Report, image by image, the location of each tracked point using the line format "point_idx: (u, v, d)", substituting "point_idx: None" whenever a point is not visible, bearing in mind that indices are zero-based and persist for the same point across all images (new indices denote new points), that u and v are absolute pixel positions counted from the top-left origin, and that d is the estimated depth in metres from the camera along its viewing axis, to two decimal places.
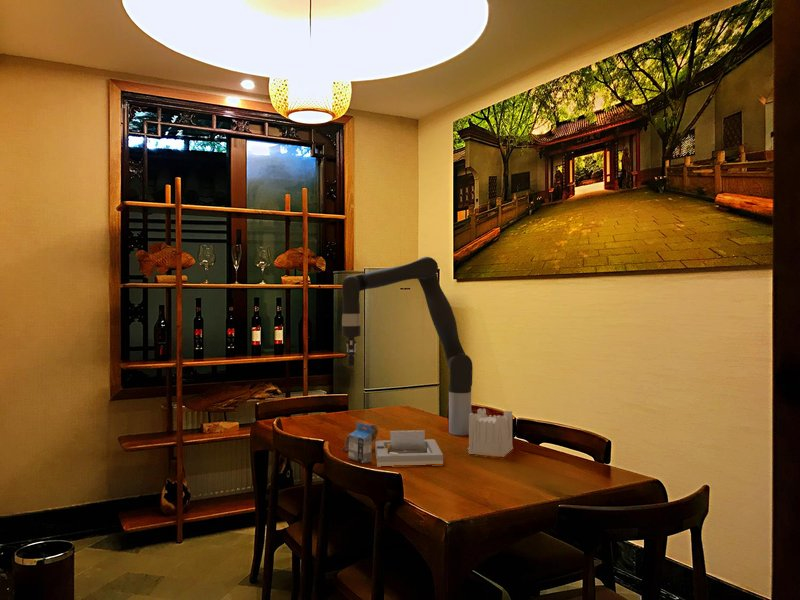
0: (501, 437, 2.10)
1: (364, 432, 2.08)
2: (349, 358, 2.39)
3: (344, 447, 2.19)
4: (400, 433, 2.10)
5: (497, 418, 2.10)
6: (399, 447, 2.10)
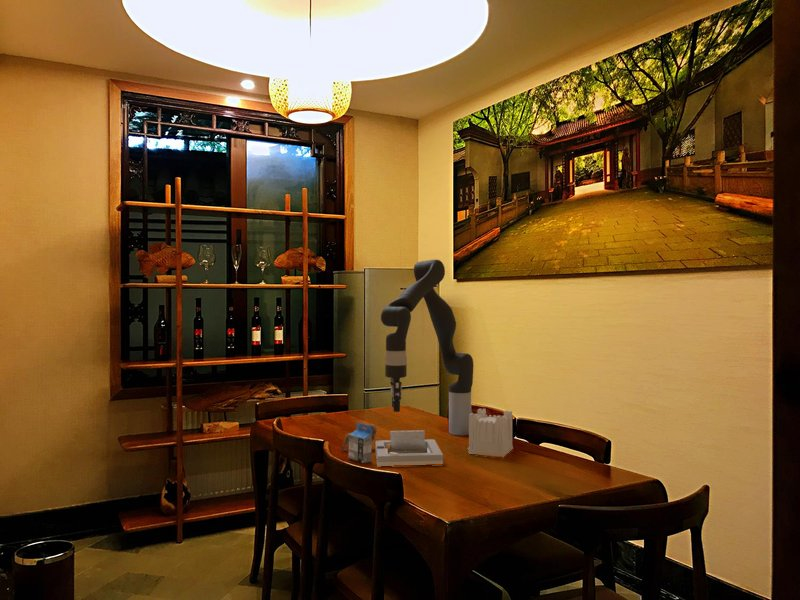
0: (501, 437, 2.10)
1: (364, 432, 2.08)
2: (394, 403, 2.06)
3: (343, 447, 2.19)
4: (400, 433, 2.10)
5: (497, 418, 2.10)
6: (399, 447, 2.10)
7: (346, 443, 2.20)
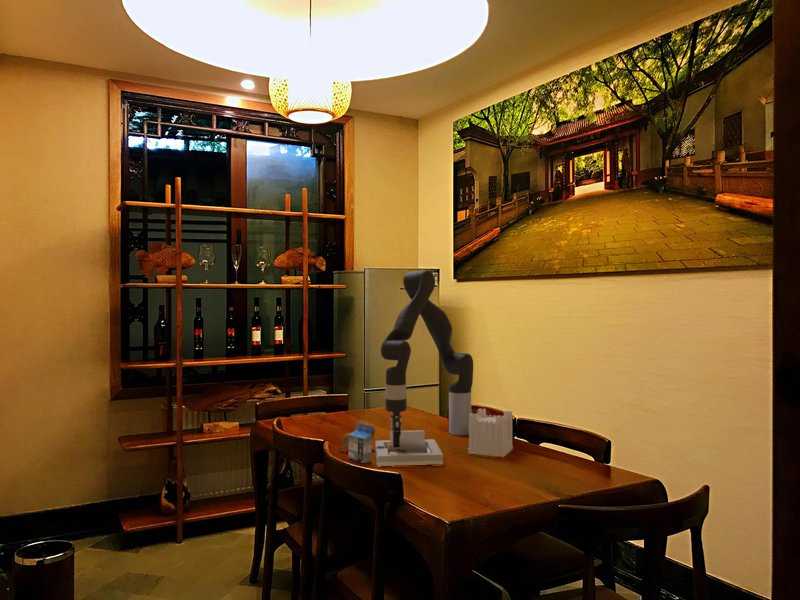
0: (501, 437, 2.10)
1: (364, 432, 2.08)
2: (394, 438, 2.09)
3: (341, 447, 2.18)
4: None
5: (497, 418, 2.10)
6: (399, 447, 2.10)
7: (344, 443, 2.20)
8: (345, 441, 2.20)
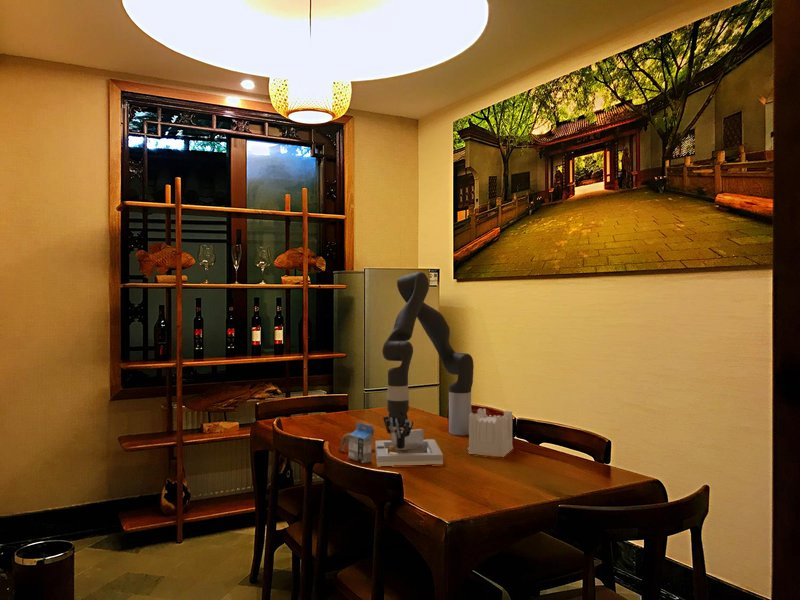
0: (501, 437, 2.10)
1: (364, 432, 2.08)
2: (400, 440, 2.07)
3: (340, 448, 2.18)
4: None
5: (497, 418, 2.10)
6: None
7: (344, 443, 2.20)
8: (344, 441, 2.20)
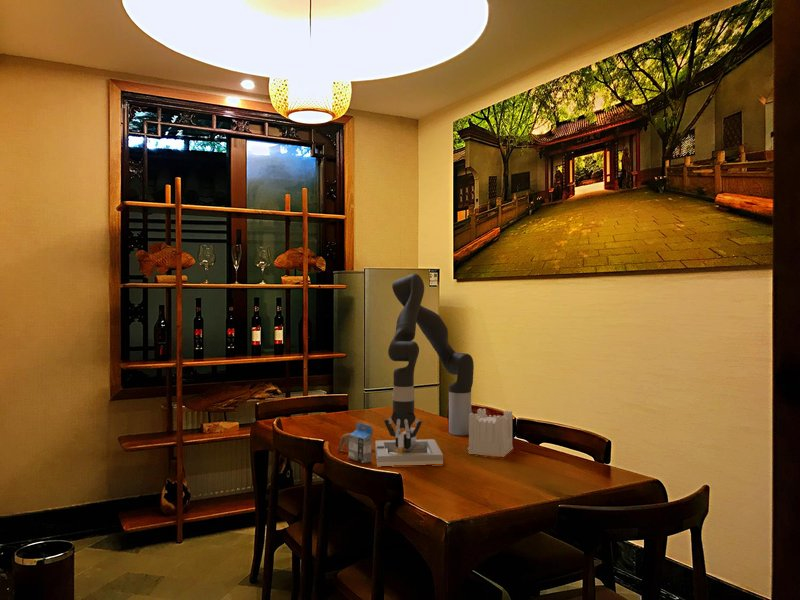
0: (501, 437, 2.10)
1: (364, 432, 2.08)
2: (408, 440, 2.07)
3: (339, 448, 2.18)
4: None
5: (497, 418, 2.10)
6: None
7: (342, 444, 2.20)
8: (343, 441, 2.20)
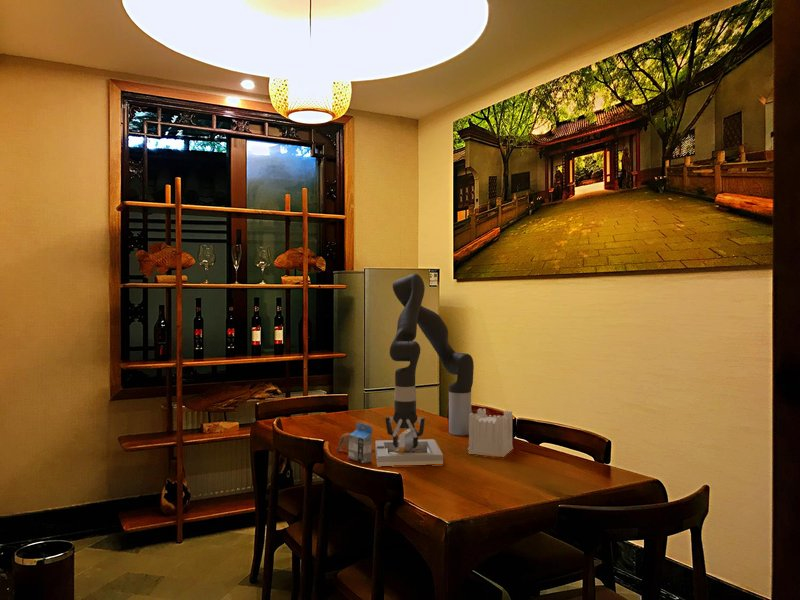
0: (501, 437, 2.10)
1: (364, 432, 2.08)
2: (415, 439, 2.06)
3: (338, 448, 2.18)
4: (407, 434, 2.08)
5: (497, 418, 2.10)
6: (407, 448, 2.08)
7: (341, 444, 2.19)
8: (342, 441, 2.19)
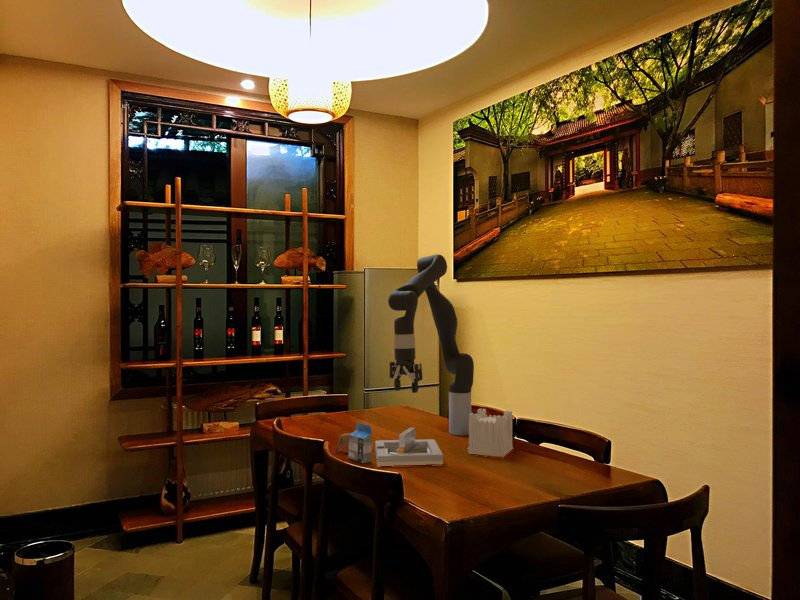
0: (501, 437, 2.10)
1: (364, 432, 2.08)
2: (413, 384, 2.12)
3: (337, 448, 2.17)
4: (407, 434, 2.08)
5: (497, 418, 2.10)
6: (407, 448, 2.08)
7: (340, 444, 2.19)
8: (341, 441, 2.19)
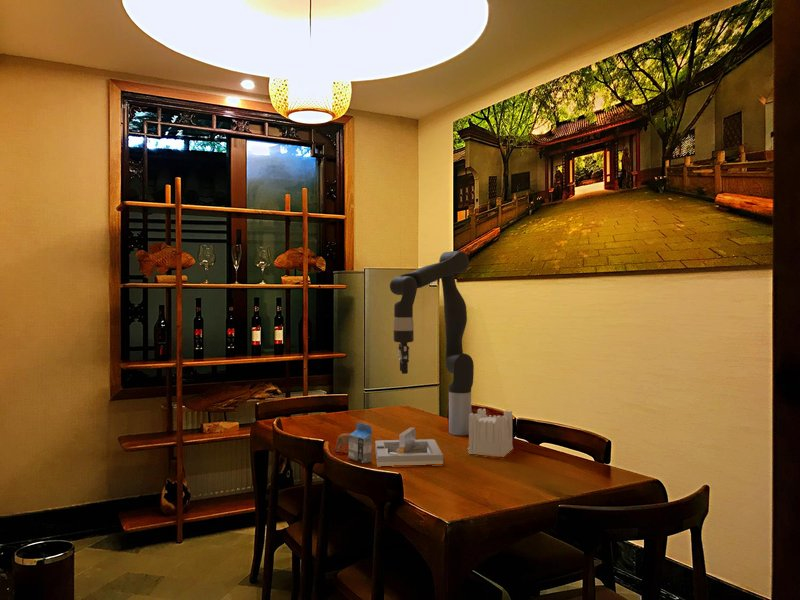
0: (501, 437, 2.10)
1: (364, 432, 2.08)
2: (402, 365, 2.21)
3: (335, 448, 2.17)
4: (407, 434, 2.08)
5: (497, 418, 2.10)
6: (407, 448, 2.08)
7: (339, 444, 2.19)
8: (339, 442, 2.19)
